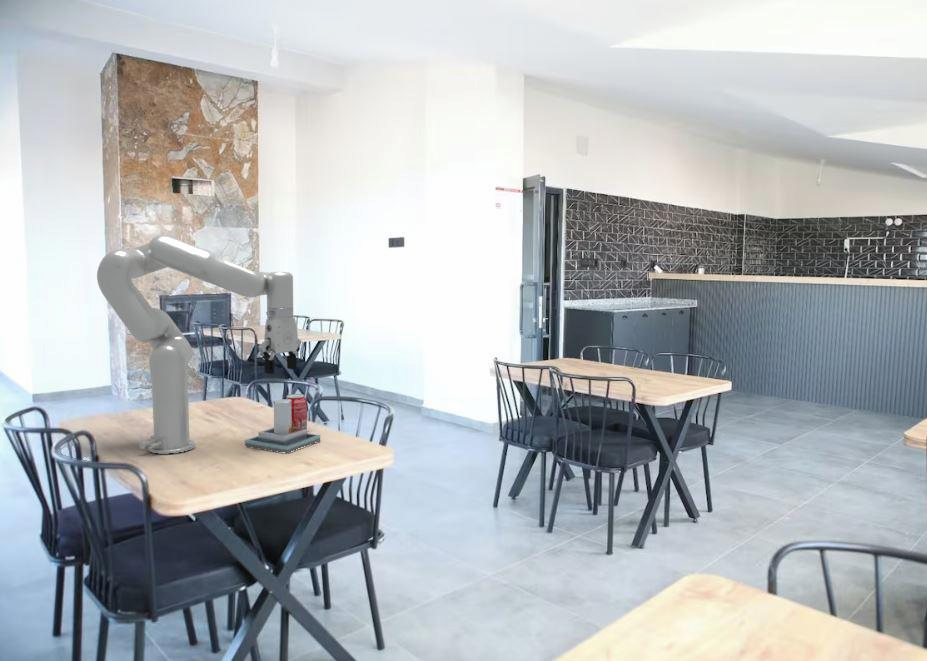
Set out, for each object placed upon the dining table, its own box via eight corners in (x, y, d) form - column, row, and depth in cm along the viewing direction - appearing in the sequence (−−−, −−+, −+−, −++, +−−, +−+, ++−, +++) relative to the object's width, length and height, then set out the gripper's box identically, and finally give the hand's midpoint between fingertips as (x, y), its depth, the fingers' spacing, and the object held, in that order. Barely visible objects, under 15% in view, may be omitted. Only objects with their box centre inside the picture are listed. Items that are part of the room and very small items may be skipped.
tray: (287, 453, 192) (286, 439, 192) (244, 446, 199) (244, 432, 199) (320, 441, 206) (320, 428, 205) (279, 435, 213) (279, 422, 212)
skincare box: (288, 442, 200) (287, 403, 199) (273, 442, 200) (273, 403, 198) (292, 437, 206) (291, 398, 205) (278, 437, 206) (277, 398, 204)
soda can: (287, 429, 220) (287, 393, 219) (309, 429, 220) (308, 393, 219) (282, 435, 213) (281, 397, 212) (304, 435, 213) (303, 397, 212)
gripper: (269, 316, 189) (270, 376, 191) (309, 312, 205) (309, 368, 207) (249, 315, 193) (250, 374, 194) (290, 311, 208) (290, 366, 210)
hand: (281, 371), depth 201 cm, fingers open, 9 cm apart
